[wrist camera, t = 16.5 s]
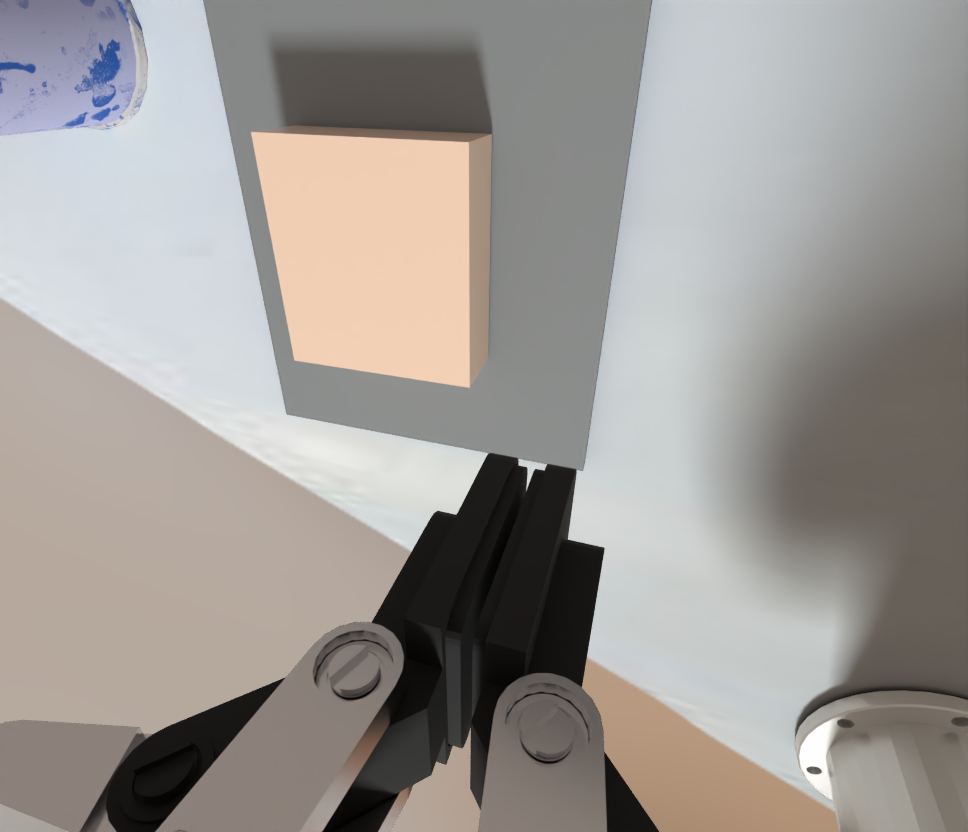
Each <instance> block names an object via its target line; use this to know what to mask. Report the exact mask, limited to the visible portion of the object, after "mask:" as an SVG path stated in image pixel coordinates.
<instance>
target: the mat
mask: <svg viewBox="0 0 968 832" xmlns="http://www.w3.org/2000/svg"><path fill="white" fill-rule="evenodd" d="M203 2H204V7H205V12H206V17H207V22H208V27H209V32H210V37H211V42H212V46H213V51H214V56H215V61H216V66H217V71H218V76H219V81H220V86H221V91H222V96H223V101H224V106H225V111H226V116H227V121H228V126H229V131H230V136H231V141H232V146H233V151H234V156H235V161H236V166H237V171H238V176H239V181H240V185H241V190H242V195H243V200H244V205H245V210H246V215H247V220H248V225H249V230H250V235H251V240H252V245H253V250H254V255H255V260H256V265H257V270H258V275H259V280H260V285H261V290H262V295H263V300H264V305H265V310H266V315H267V319H268V324H269V329H270V334H271V339H272V344H273V349H274V354H275V359H276V364H277V369H278V374H279V379H280V384H281V389H282V394H283V399H284V404H285V409H286V414H287V415H292V416H298V417H303V418H308V419H313V420H318V421H324V422H329V423H334V424H339V425H345V426H350V427H355V428H360V429H366V430H371V431H376V432H381V433H386V434H392V435H397V436H402V437H407V438H413V439H418V440H423V441H428V442H434V443H439V444H444V445H449V446H455V447H460V448H465V449H470V450H475V451H481V452H486V453H495V454H500V455H505V456H511V457H516V458H518V459H523V460H528V461H533V462H538V463H543V464H553V465H558V466H563V467H568V468H573V469H576V470H580V471H583V468H584V464H585V457H586V450H587V443H588V437H589V430H590V423H591V416H592V409H593V402H594V395H595V389H596V382H597V375H598V368H599V361H600V354H601V347H602V341H603V334H604V327H605V320H606V313H607V306H608V299H609V293H610V286H611V279H612V272H613V265H614V258H615V251H616V245H617V238H618V231H619V224H620V217H621V210H622V203H623V197H624V190H625V183H626V176H627V169H628V162H629V155H630V149H631V142H632V135H633V128H634V121H635V114H636V107H637V101H638V94H639V87H640V80H641V73H642V66H643V59H644V53H645V46H646V39H647V32H648V25H649V18H650V11H651V5H652V0H203ZM293 125H297V126H320V127H343V128H367V129H390V130H413V131H436V132H459V133H482V134H492V160H491V221H490V282H489V343H488V361H487V362H486V364H485V365H484V367H483V368H482V370H481V371H480V373H479V374H478V376H477V377H476V379H475V381H474V382H473V384H472V385H471V387H470V388H468V387H461V386H455V385H448V384H442V383H435V382H429V381H423V380H416V379H410V378H403V377H397V376H391V375H384V374H378V373H371V372H365V371H359V370H352V369H346V368H339V367H333V366H326V365H320V364H314V363H307V362H301V361H294V356H293V351H292V345H291V340H290V335H289V330H288V324H287V319H286V314H285V309H284V303H283V298H282V293H281V288H280V282H279V277H278V272H277V267H276V261H275V256H274V251H273V246H272V240H271V235H270V230H269V225H268V219H267V214H266V209H265V204H264V198H263V193H262V188H261V183H260V177H259V172H258V167H257V162H256V156H255V151H254V146H253V141H252V135H251V132H254V131H260V130H267V129H273V128H280V127H286V126H293Z"/></svg>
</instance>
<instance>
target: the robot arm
mask: <svg viewBox="0 0 968 832" xmlns="http://www.w3.org/2000/svg"><path fill="white" fill-rule="evenodd" d="M575 480H576V469H573V468H568V467H563V466H558V465H553V464H547V466H546V468H545V471H543V470H538V469H535V470H534V473H533V475H532V478H531V481H530V483H529V486H528V489H527V491H526V485H527V467H523V466H518V458H516V457H511V456H505V455H500V454H495V453H489V454H488V455H487V457H486V459H485V461H484V463H483V465H482V466H481V468H480V470H479V472H478V474H477V476H476V478H475V480H474V482H473V484H472V486H471V488H470V490H469V492H468V494H467V496H466V498H465V500H464V502H463V504H462V506H461V508H460V509H459V511H458V513H457V515H454V514H450V513H445V512H441V511H437V512H435V513H434V514H433V516H432V517H431V519H430V520H429V522H428V524H427V526H426V527H425V529H424V531H423V533H422V534H421V536H420V538H419V540H418V542H417V543H416V545H415V547H414V549H413V550H412V552H411V554H410V556H409V557H408V559H407V561H406V563H405V565H404V566H403V568H402V570H401V572H400V574H399V575H398V577H397V579H396V580H395V582H394V584H393V586H392V588H391V589H390V591H389V593H388V595H387V596H386V598H385V600H384V602H383V604H382V605H381V607H380V609H379V610H378V612H377V614H376V616H375V617H374V619H373V621H372V623H370V622H353V623H349V624H346V625H342V626H339V627H337V628H335V629H333V630H331V631H330V632H328V633H326V634H325V635H324V636H322V638H320V639H319V640H318V641H317V642H316V643H315V644H314V645H313V646H312V647H311V648H310V649H309V651H308V652H307V653H306V654H305V655H304V657H303V658H302V659H301V660H300V661H299V663H298V664H297V665H296V666H295V667H294V668H293V670H292V671H291V672H290V673H289V674H288V676H287V677H286V678H283V679H281V680H278V681H276V682H274V683H271V684H269V685H266V686H264V687H262V688H259V689H257V690H254V691H252V692H250V693H247V694H245V695H243V696H240V697H238V698H235V699H233V700H230V701H228V702H226V703H223V704H221V705H218V706H216V707H213V708H211V709H209V710H206V711H204V712H201V713H199V714H197V715H194V716H192V717H189V718H187V719H185V720H182V721H180V722H178V723H175V724H173V725H170V726H168V727H166V728H164V729H162V730H160V731H158V732H157V733H155V734H143V732H142V730H141V729H140V727H128V726H127V727H126V726H112V725H96V724H79V723H64V722H48V721H31V720H18V721H10V722H4V723H2V724H0V832H390V831H391V830H392V828H393V826H394V824H395V822H396V820H397V819H398V817H399V815H400V813H401V811H402V809H403V807H404V806H405V804H406V802H407V800H408V798H409V795H410V793H411V790H412V787H413V785H414V784H415V783H417V782H419V781H421V780H423V779H425V778H427V777H428V776H430V775H431V774H432V771H433V768H434V766H435V763H436V761H437V762H439V763H442V764H445V765H446V764H447V760H448V758H449V755H450V751H451V749H452V746H457V747H459V748H463V747H464V745H465V743H466V740H467V737H468V734H469V730H470V728H471V779H470V781H471V782H470V789H471V791H472V793H473V795H474V797H475V799H476V801H477V804H478V806H479V808H480V810H481V813H480V820H479V829H478V832H659V831H658V829H657V828H656V826H655V825H654V823H653V822H652V820H651V819H650V817H649V816H648V815H647V813H646V812H645V810H644V809H643V808H642V806H641V804H640V803H639V801H638V800H637V799H636V797H635V796H634V794H633V793H632V791H631V790H630V788H629V787H628V785H627V784H626V783H625V781H624V780H623V778H622V777H621V775H620V774H619V772H618V771H617V769H616V768H615V766H614V765H613V764H612V762H611V761H610V759H609V758H608V756H607V755H606V753H605V752H604V736H603V735H604V732H603V726H602V721H601V716H600V713H599V711H598V709H597V707H596V705H595V703H594V702H593V700H592V698H591V697H590V696H589V695H588V694H587V693H586V692H585V691H584V690H583V689H582V682H583V677H584V671H585V665H586V658H587V652H588V646H589V640H590V634H591V628H592V622H593V616H594V610H595V604H596V598H597V592H598V585H599V579H600V573H601V567H602V561H603V555H604V548H603V547H598V546H594V545H589V544H585V543H580V542H576V541H571V540H568V533H569V526H570V518H571V510H572V503H573V495H574V488H575ZM795 748H796V753H797V758H798V763H799V767H800V769H801V771H802V772H803V774H804V776H805V778H806V779H807V780H808V781H809V782H810V783H811V784H812V785H813V787H814V788H816V789H817V790H818V791H820V792H821V793H822V794H823V795H825V796H826V797H827V798H829V799H830V800H832V801H833V802H834V807H835V812H836V817H837V821H838V826H839V831H840V832H968V700H966V699H962V698H959V697H955V696H950V695H944V694H938V693H932V692H921V691H906V690H898V691H877V692H870V693H863V694H857V695H853V696H849V697H846V698H842V699H839V700H836V701H834V702H831V703H829V704H827V705H825V706H823V707H821V708H819V709H818V710H816V711H815V712H814V713H812V714H811V715H809V716H808V717H807V718H806V719H805V721H804V722H803V723H802V724H801V725H800V727H799V729H798V732H797V735H796V737H795Z"/></svg>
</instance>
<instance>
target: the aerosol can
mask: <svg viewBox="0 0 968 832" xmlns="http://www.w3.org/2000/svg"><path fill="white" fill-rule="evenodd" d="M147 61H148V60H147V55H146V50H145V45H144V40H143V35H142V30H141V26H140V24H139V21H138V19H137V17H136V14H135V12H134V9H133V7H132V4H131V2H130V0H0V136H1V135H11V134H21V133H31V132H40V131H50V130H60V129H70V128H79V127H88V128H93V129H99V130H103V129H109V128H113V127H116V126H120V125H123V124H126V123H127V122H128V121H129V120H130V119H131V118H132V117H133V116H134V115H135V113H136V112H137V111H138V110H139V108H140V105H141V103H142V100H143V97H144V94H145V91H146V88H147Z"/></svg>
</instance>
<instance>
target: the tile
mask: <svg viewBox="0 0 968 832" xmlns="http://www.w3.org/2000/svg"><path fill="white" fill-rule="evenodd" d="M251 135H252V141H253V146H254V151H255V156H256V162H257V167H258V172H259V177H260V183H261V188H262V193H263V198H264V204H265V209H266V214H267V219H268V225H269V230H270V235H271V240H272V246H273V251H274V256H275V261H276V267H277V272H278V277H279V282H280V288H281V293H282V298H283V303H284V309H285V314H286V319H287V324H288V330H289V335H290V340H291V345H292V351H293V356H294V361H301V362H307V363H314V364H320V365H326V366H333V367H339V368H346V369H352V370H359V371H365V372H371V373H378V374H384V375H391V376H397V377H403V378H410V379H416V380H423V381H429V382H435V383H442V384H448V385H455V386H461V387H468V388H470V387H471V385H472V384H473V382H474V381H475V379H476V377H477V376H478V374H479V373H480V371H481V370H482V368H483V367H484V365H485V364H486V362H487V361H488V343H489V282H490V221H491V160H492V134H482V133H459V132H436V131H413V130H390V129H367V128H343V127H320V126H297V125H293V126H286V127H280V128H273V129H267V130H260V131H254V132H251Z"/></svg>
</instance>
